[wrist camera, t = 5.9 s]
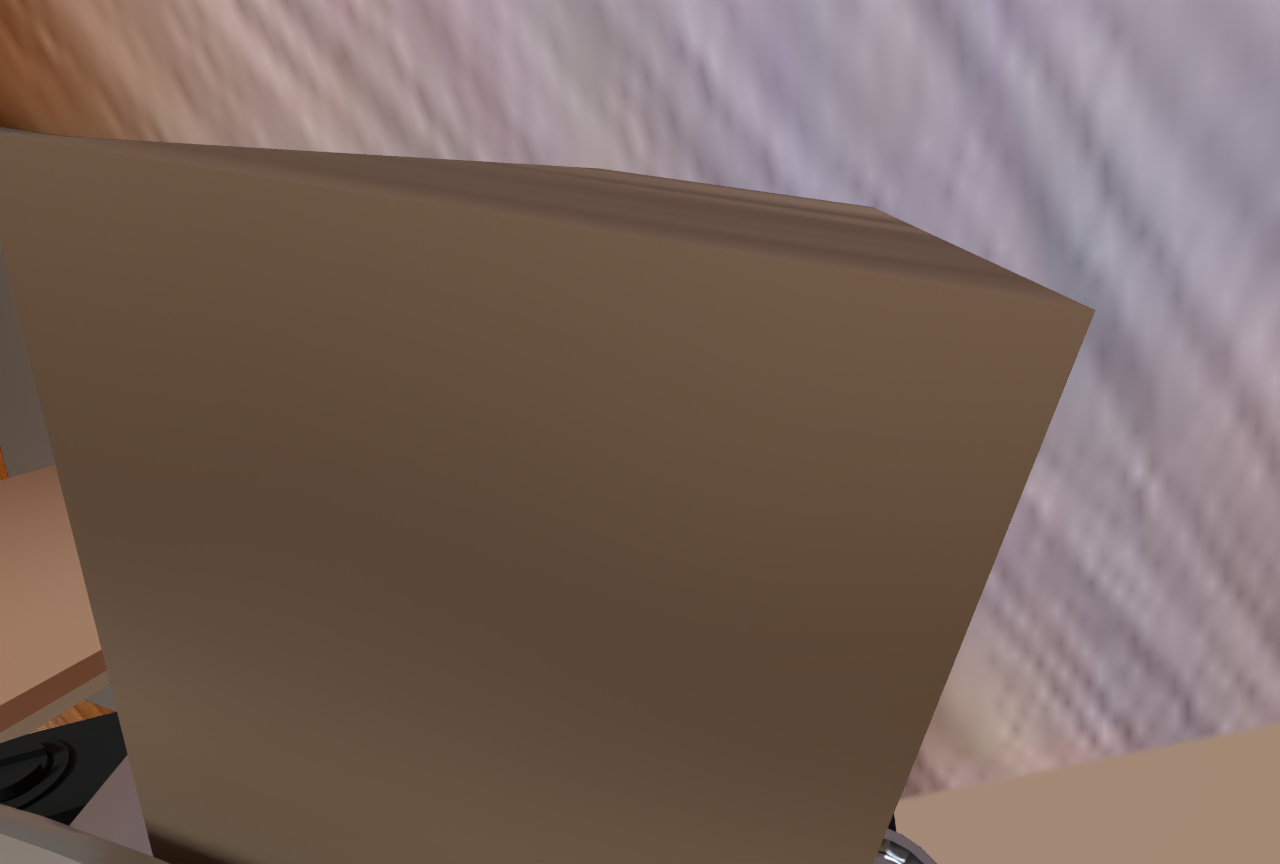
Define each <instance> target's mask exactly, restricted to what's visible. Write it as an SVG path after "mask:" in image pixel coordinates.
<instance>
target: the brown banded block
mask: <svg viewBox="0 0 1280 864" xmlns="http://www.w3.org/2000/svg"><path fill="white" fill-rule="evenodd" d="M0 244H1V248H2V252H3V256H4V260H5V264H6V268H7V272H8V276H9V280H10V284H11V288H12V292H13V296H14V300H15V304H16V308H17V312H18V316H19V320H20V324H21V328H22V332H23V336H24V340H25V344H26V348H27V352H28V357H29V361H30V365H31V369H32V373H33V377H34V381H35V385H36V389H37V393H38V397H39V401H40V405H41V409H42V413H43V417H44V421H45V425H46V429H47V433H48V437H49V441H50V445H51V449H52V453H53V457H54V461H55V465H56V469H57V473H58V477H59V481H60V485H61V489H62V493H63V497H64V501H65V505H66V509H67V513H68V517H69V521H70V525H71V529H72V533H73V537H74V541H75V545H76V549H77V553H78V557H79V561H80V565H81V569H82V573H83V577H84V581H85V585H86V589H87V593H88V597H89V601H90V605H91V609H92V613H93V617H94V621H95V625H96V629H97V633H98V637H99V641H100V645H101V649H102V653H103V657H104V661H105V665H106V669H107V674H108V678H109V682H110V686H111V690H112V694H113V698H114V702H115V706H116V710H117V714H118V718H119V722H120V726H121V730H122V734H123V738H124V742H125V746H126V750H127V754H128V758H129V762H130V766H131V770H132V774H133V778H134V782H135V786H136V790H137V794H138V798H139V802H140V806H141V810H142V814H143V818H144V822H145V826H146V830H147V834H148V838H149V842H150V846H151V850H152V854H153V857H155V858H157V859H160V860H162V861H165V862H167V863H170V864H873V863H874V861H875V858H876V856H877V853H878V851H879V848H880V846H881V844H882V841H883V839H884V836H885V834H886V831H887V829H888V826H889V824H890V821H891V819H892V816H893V814H894V811H895V808H896V806H897V803H898V801H899V799H900V796H901V794H902V791H903V789H904V786H905V784H906V781H907V779H908V776H909V774H910V771H911V769H912V766H913V764H914V761H915V759H916V756H917V754H918V751H919V749H920V746H921V744H922V741H923V739H924V736H925V734H926V731H927V729H928V726H929V724H930V721H931V719H932V716H933V714H934V711H935V709H936V706H937V704H938V701H939V699H940V696H941V694H942V691H943V689H944V686H945V684H946V681H947V679H948V676H949V674H950V671H951V669H952V666H953V664H954V661H955V659H956V656H957V654H958V651H959V649H960V646H961V644H962V641H963V639H964V636H965V634H966V631H967V629H968V626H969V624H970V621H971V619H972V616H973V614H974V611H975V609H976V606H977V604H978V601H979V599H980V597H981V594H982V592H983V589H984V587H985V584H986V582H987V579H988V577H989V574H990V572H991V569H992V567H993V564H994V562H995V559H996V557H997V554H998V552H999V549H1000V547H1001V544H1002V542H1003V539H1004V537H1005V534H1006V532H1007V529H1008V527H1009V524H1010V522H1011V519H1012V517H1013V514H1014V512H1015V509H1016V507H1017V504H1018V502H1019V499H1020V497H1021V494H1022V492H1023V489H1024V487H1025V484H1026V482H1027V479H1028V477H1029V474H1030V472H1031V469H1032V467H1033V464H1034V462H1035V459H1036V457H1037V454H1038V452H1039V449H1040V447H1041V444H1042V442H1043V439H1044V437H1045V434H1046V432H1047V429H1048V427H1049V424H1050V422H1051V419H1052V417H1053V414H1054V412H1055V409H1056V407H1057V404H1058V402H1059V399H1060V397H1061V394H1062V392H1063V389H1064V387H1065V384H1066V382H1067V379H1068V377H1069V374H1070V372H1071V369H1072V367H1073V364H1074V362H1075V359H1076V357H1077V354H1078V352H1079V349H1080V347H1081V345H1082V342H1083V340H1084V337H1085V335H1086V332H1087V330H1088V327H1089V325H1090V322H1091V320H1092V317H1093V315H1094V312H1095V310H1094V309H1091V308H1089V307H1087V306H1085V305H1083V304H1081V303H1078V302H1076V301H1074V300H1072V299H1070V298H1068V297H1065V296H1063V295H1061V294H1059V293H1057V292H1055V291H1052V290H1050V289H1048V288H1046V287H1044V286H1042V285H1040V284H1037V283H1035V282H1033V281H1031V280H1029V279H1027V278H1024V277H1022V276H1020V275H1018V274H1016V273H1014V272H1011V271H1009V270H1007V269H1005V268H1003V267H1001V266H998V265H996V264H994V263H992V262H990V261H988V260H985V259H983V258H981V257H979V256H977V255H975V254H973V253H970V252H968V251H966V250H964V249H962V248H960V247H957V246H955V245H953V244H951V243H949V242H947V241H944V240H942V239H940V238H938V237H936V236H934V235H931V234H929V233H927V232H925V231H923V230H921V229H919V228H916V227H914V226H912V225H910V224H908V223H906V222H903V221H901V220H899V219H897V218H895V217H893V216H890V215H888V214H886V213H884V212H882V211H880V210H877V209H875V208H873V207H867V206H860V205H853V204H846V203H839V202H832V201H825V200H818V199H811V198H803V197H796V196H789V195H782V194H775V193H768V192H761V191H754V190H747V189H740V188H733V187H726V186H719V185H711V184H704V183H697V182H690V181H683V180H676V179H669V178H662V177H655V176H648V175H641V174H634V173H627V172H619V171H612V170H605V169H597V168H580V167H564V166H547V165H530V164H514V163H497V162H481V161H464V160H447V159H431V158H414V157H398V156H381V155H365V154H348V153H331V152H315V151H298V150H282V149H265V148H248V147H232V146H215V145H199V144H182V143H166V142H149V141H132V140H116V139H99V138H83V137H66V136H49V135H33V134H16V133H0Z"/></svg>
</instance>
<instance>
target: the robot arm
mask: <svg viewBox="0 0 1280 864" xmlns="http://www.w3.org/2000/svg"><path fill="white" fill-rule="evenodd" d="M0 864H170V863H167V862H165V861H162V860H160V859H157V858H155V857H153V854H152V850H151V846H150V842H149V838H148V834H147V830H146V826H145V822H144V818H143V814H142V810H141V806H140V802H139V798H138V794H137V790H136V786H135V782H134V778H133V774H132V770H131V766H130V762H129V758H128V754H127V750H126V746H125V742H124V738H123V734H122V730H121V726H120V722H119V718H118V714H117V712H114V713H110V714H106V715H102V716H98V717H95V718H91V719H87V720H83V721H79V722H75V723H71V724H67V725H63V726H59V727H55V728H51V729H47V730H43V731H39V732H35V733H31V734H27V735H23V736H20V737H17V738H14V739H11V740H8V741H5V742H2V743H0ZM873 864H937V863H936V862H935V861H934V860H933V859H932V858H931V857H930V856H929V855H928V854H927V853H926V852H925V851H924V850H923V849H922V848H921V847H920V846H918V845H917V844H915V843H914V842H912V841H911V840H909V839H908V838H906V837H905V836H904V835H902V834H899V833H897V832H896V826H895V818H894V814H893V816H892V819H891V821H890V824H889V826H888V829H887V831H886V834H885V836H884V839H883V841H882V844H881V846H880V848H879V851H878V853H877V856H876V858H875V861H874V863H873Z"/></svg>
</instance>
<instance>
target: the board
mask: <svg viewBox="0 0 1280 864" xmlns="http://www.w3.org/2000/svg"><path fill="white" fill-rule="evenodd" d="M0 133H16V134H33V135H49V136H56V135H50V134H44V133H37V132H31V131H25V130H18V129H12V128H6V127H0ZM0 447H1V451H2V454H3V458H4V462H5V466H6V470H7V473H8V477H9V478H10V477H13V476H17V475H21V474H24V473H28V472H32V471H35V470H39V469H42V468H46V467H50V466H53V465H55V461H54V457H53V453H52V449H51V445H50V441H49V437H48V433H47V429H46V425H45V421H44V417H43V413H42V409H41V405H40V401H39V397H38V393H37V389H36V385H35V381H34V377H33V373H32V369H31V365H30V361H29V357H28V352H27V348H26V344H25V340H24V336H23V332H22V328H21V324H20V320H19V316H18V312H17V308H16V304H15V300H14V296H13V292H12V288H11V284H10V280H9V276H8V272H7V268H6V264H5V260H4V256H3V252H2V248H1V244H0ZM85 701H88V702H91V703H94V704H96V705H99V706H102V707H104V708H107V709H110V710H112V711H115V712H117V710H116V706H115V702H114V698H113V694H112V690H111V686H110V684H109V685H108V686H106V687H104V688H103V689H101V690H99V691H98V692H96V693H94V694H93V695H91V696H90V697H88V698H86V699H85Z"/></svg>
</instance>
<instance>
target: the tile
mask: <svg viewBox="0 0 1280 864" xmlns="http://www.w3.org/2000/svg"><path fill="white" fill-rule="evenodd" d="M109 684H110V682H109V678H108V674H107V669H106V665H105V661H104V657H103V653H102V649H101V645H100V641H99V637H98V633H97V629H96V625H95V621H94V617H93V613H92V609H91V605H90V601H89V597H88V593H87V589H86V585H85V581H84V577H83V573H82V569H81V565H80V561H79V557H78V553H77V549H76V545H75V541H74V537H73V533H72V529H71V525H70V521H69V517H68V513H67V509H66V505H65V501H64V497H63V493H62V489H61V485H60V481H59V477H58V473H57V469H56V465H53V466H50V467H46V468H42V469H39V470H35V471H32V472H28V473H24V474H21V475H17V476H13V477H10V478H6V479H3V480H0V743H2V742H5V741H8V740H11V739H14V738H17V737H20V736H23V735H27V734H29V733H30V732H32V731H34V730H35V729H37V728H39V727H40V726H42V725H44V724H45V723H47V722H49V721H50V720H52V719H53V718H55V717H57V716H58V715H60V714H62V713H63V712H65V711H67V710H68V709H70V708H71V707H73V706H75V705H76V704H78V703H80V702H81V701H83V700H85V699H86V698H88V697H90V696H91V695H93V694H94V693H96V692H98V691H99V690H101V689H103V688H104V687H106V686H108V685H109Z"/></svg>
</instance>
